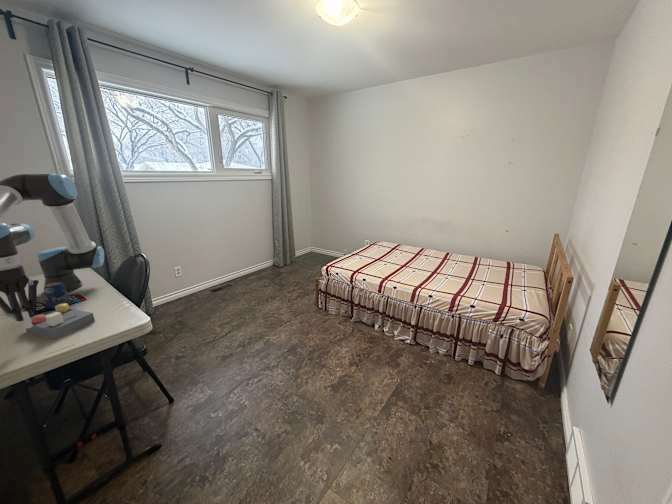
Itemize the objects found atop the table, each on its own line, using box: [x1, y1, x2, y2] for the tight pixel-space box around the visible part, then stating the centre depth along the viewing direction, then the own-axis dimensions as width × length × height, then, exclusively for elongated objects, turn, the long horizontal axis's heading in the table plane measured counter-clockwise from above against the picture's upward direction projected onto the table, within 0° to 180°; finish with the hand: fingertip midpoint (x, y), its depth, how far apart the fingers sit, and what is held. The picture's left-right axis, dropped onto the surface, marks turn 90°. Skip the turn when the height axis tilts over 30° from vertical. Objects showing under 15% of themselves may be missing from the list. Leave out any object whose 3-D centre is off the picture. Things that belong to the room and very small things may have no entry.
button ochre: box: [54, 303, 70, 313], centre depth 118 cm, size 4×4×3 cm
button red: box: [30, 313, 46, 324], centre depth 111 cm, size 4×4×3 cm
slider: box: [45, 312, 64, 326], centre depth 108 cm, size 3×4×4 cm
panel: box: [25, 307, 96, 340], centre depth 113 cm, size 18×14×4 cm
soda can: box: [43, 282, 71, 310], centre depth 129 cm, size 7×7×12 cm
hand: (28, 326), depth 100 cm, fingers closed
